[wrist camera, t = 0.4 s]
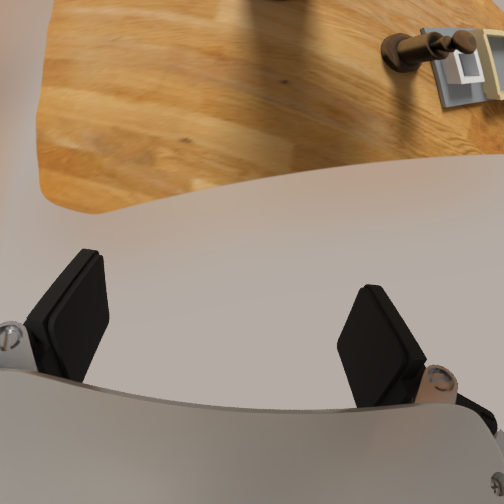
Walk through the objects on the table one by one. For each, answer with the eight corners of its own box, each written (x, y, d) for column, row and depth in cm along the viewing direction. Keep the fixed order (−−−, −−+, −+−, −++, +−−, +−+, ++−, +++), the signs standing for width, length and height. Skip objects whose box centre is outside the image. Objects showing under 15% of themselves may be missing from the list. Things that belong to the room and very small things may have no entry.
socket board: (420, 29, 33) (437, 24, 29) (504, 32, 30) (521, 31, 26) (442, 106, 39) (460, 109, 35) (519, 95, 37) (537, 98, 32)
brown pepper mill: (402, 30, 34) (474, 9, 18) (422, 64, 36) (498, 59, 20) (373, 43, 35) (440, 22, 19) (394, 78, 38) (468, 76, 22)
